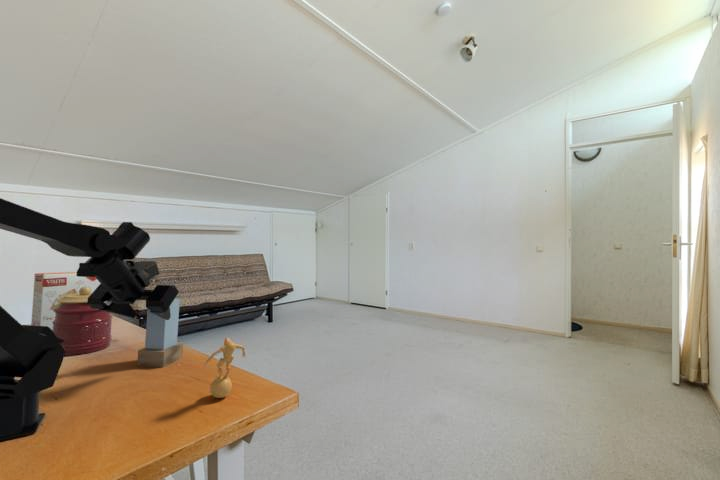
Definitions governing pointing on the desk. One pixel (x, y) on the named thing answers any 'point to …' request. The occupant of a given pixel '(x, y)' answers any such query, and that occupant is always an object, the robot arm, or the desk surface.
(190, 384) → the desk surface
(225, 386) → the figurine
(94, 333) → the canister
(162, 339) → the blue pillar
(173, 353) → the beige block
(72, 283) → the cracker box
